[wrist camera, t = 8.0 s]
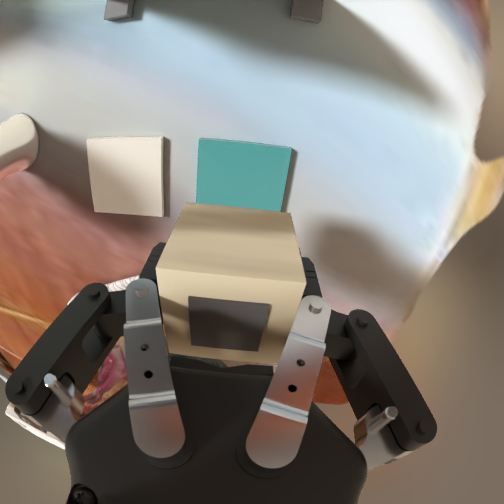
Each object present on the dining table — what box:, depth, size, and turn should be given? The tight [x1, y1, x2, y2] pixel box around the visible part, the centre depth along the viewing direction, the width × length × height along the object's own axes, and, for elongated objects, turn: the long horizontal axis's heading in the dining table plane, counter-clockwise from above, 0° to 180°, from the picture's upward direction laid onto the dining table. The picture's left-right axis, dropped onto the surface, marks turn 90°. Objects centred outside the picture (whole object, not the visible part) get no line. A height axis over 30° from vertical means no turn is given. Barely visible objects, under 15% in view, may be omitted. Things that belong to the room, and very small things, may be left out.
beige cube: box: [156, 202, 306, 363], centre depth 12 cm, size 5×5×5 cm
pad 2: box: [196, 138, 292, 212], centre depth 22 cm, size 7×7×1 cm
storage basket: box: [5, 403, 65, 449], centre depth 53 cm, size 24×16×15 cm
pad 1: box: [86, 136, 164, 217], centre depth 21 cm, size 7×7×1 cm
